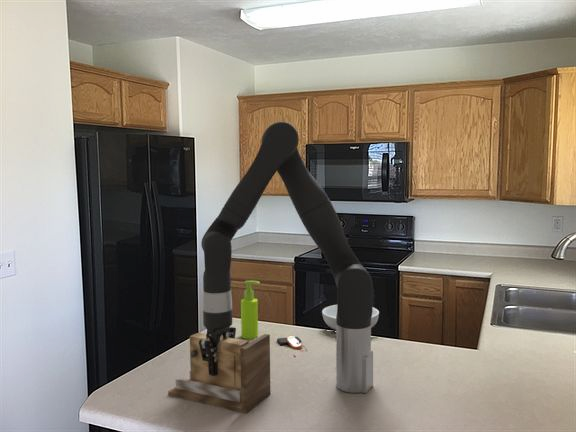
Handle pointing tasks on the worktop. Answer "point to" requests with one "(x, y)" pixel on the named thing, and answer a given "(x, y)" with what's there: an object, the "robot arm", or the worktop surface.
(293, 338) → the multimeter
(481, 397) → the worktop surface
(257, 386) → the hinge base
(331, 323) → the serving bowl
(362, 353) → the robot arm
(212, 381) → the oak door
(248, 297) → the soap dispenser
